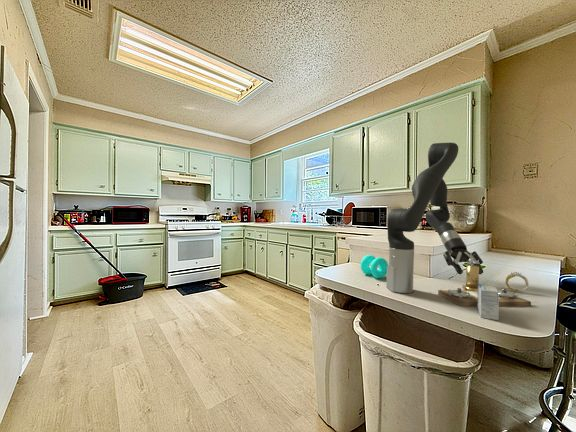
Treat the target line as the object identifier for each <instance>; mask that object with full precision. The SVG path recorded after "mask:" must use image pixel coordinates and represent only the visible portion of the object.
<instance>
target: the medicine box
mask: <svg viewBox="0 0 576 432" xmlns="http://www.w3.org/2000/svg"><path fill="white" fill-rule="evenodd" d="M497 290H498V289H497V287H495V285H490V284H482V283H479V284H478V306H477V311H478V313H479V316H480V318H482V319H488V320H492V321H499V319H500V313H499V309H500V306H499V292H498V291H497Z"/></svg>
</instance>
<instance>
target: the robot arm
mask: <svg viewBox="0 0 576 432" xmlns="http://www.w3.org/2000/svg"><path fill="white" fill-rule="evenodd" d="M458 153H459V145H458V144H457V143H455V142H437V143H436V142H435V143H432V144H431V145H430V146H429V148H428V151H427V162H428V163H427V165H428V167H427V168H425V169H424V170H423V171H421V172H420V173H419V174H418V175H417V177H416V178H415V180H414V182H413V183H412V186H411V193H412V196H413V203H412V204H411V206H410V207H409V208H393V209H391V210H390V211H389V212H388V215H387V218H386V219H387V223H386V224H387V225H386V226H387V242H388V245H389V247H388V249H389V251H388V265H387V274H386V283H385V284H386V289H388V290H389V291H390V292H391V293H400V294H412V293H413V292H414V274H415V273H414V266H415V263H414V261H415V243H414V241H413V240H411V239H409V238H407V237H406V236H405V235H404V233H405V232H407V233H411V232H412V233H413V232H415V231H416V230H417V229H418V227H419V225H420V224H421V222H422V219H423V216H424V215H425V221H426V222H427V223H428V225H429V226H431V228H433V230H435V231H436V232H437V234H438V235H439V238H440V241H441V242H442V244H443V246H444V248H445V249H446V251H445V252H443V254H442V256H443V258H444V260H445V263H446V265H447V266H449V267H450V266H451V267H453V268H454V270H455V271H456V273H457V274H458V275H462V274H463V273H464V270H463V268H462V267H461V265H460V264H459V263H467V265H475V266H479V275H483V273H484V269H483V268H482V264H483V263H484V261H483V259H482V258H481V257H480V256H479V254H478V253H477V251H471V252H469V251H468V249H467V245H466V244H465V242H464V241H463V239H462V237H461V236H460V234H459V233H458V232H457V230H456V229H455V227H454V226H453V224H452V223H451V222H449V221H450V218H451V214H450V210H449V206H448V186H447V183H446V181H445V180H444V179H443V178H444V176H445V175H446V173H447V172H448V170H449V169H450V167H451V166H453V165H452V164H453V163H454V162H455V160H456V158H457V157H458ZM429 203H430V205H431V206H434V207H439V208H438V209H431V210H430V209H429V210H428V211H426V209H427V207H428V205H429ZM425 212H426V213H425Z"/></svg>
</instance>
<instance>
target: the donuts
mask: <svg viewBox="0 0 576 432" xmlns="http://www.w3.org/2000/svg"><path fill="white" fill-rule="evenodd" d="M387 265H389V262H388V261H387V260H386V259H385V258H383V257H375V256H374V255H372V254H367V255H365V256H363V257H362V259H361V260H360V270H361V272H362V273H364V274H365V275H367V276H368V275H369V276H370V274H371V275H372V276H373V277H374V278H376V279H382V278H384V277H385V276H387Z"/></svg>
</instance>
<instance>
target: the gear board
mask: <svg viewBox="0 0 576 432" xmlns="http://www.w3.org/2000/svg"><path fill="white" fill-rule="evenodd" d="M448 290H449V289H448ZM448 290H447V289H446V290H445V289H443V290H441V289H440V290H438V292H437V295H439V296H441V297H442V298H444V299H446V300H449V302H452V303H454V304H456V306H460V307H478V290H463V289H461V291H464V292H469V293H470V295H471V299H468V298H462V299H459V298H458V297H454V296H449V293H448ZM531 306H532V302H531V301H530V300H528V299H524V298H522V297H520V296H518V297H517V299H515V298H509V299H506V298H503V297H499V307H531Z"/></svg>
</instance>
